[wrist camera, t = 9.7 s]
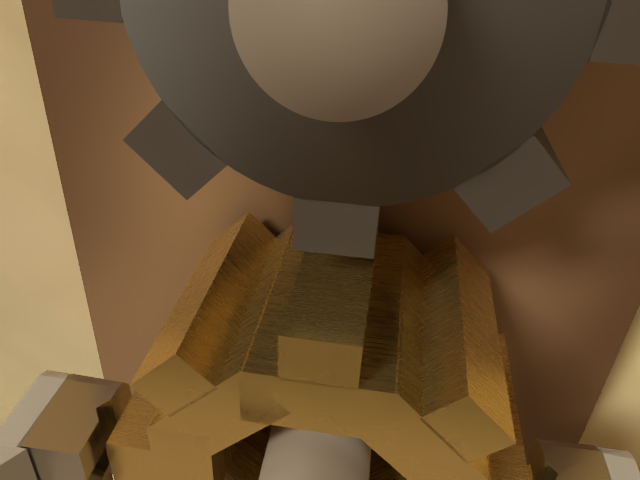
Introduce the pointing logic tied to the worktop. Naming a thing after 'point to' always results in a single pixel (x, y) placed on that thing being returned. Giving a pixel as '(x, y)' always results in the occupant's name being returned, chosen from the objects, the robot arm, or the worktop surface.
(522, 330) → the gear board
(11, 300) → the worktop surface
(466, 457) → the brass gear
